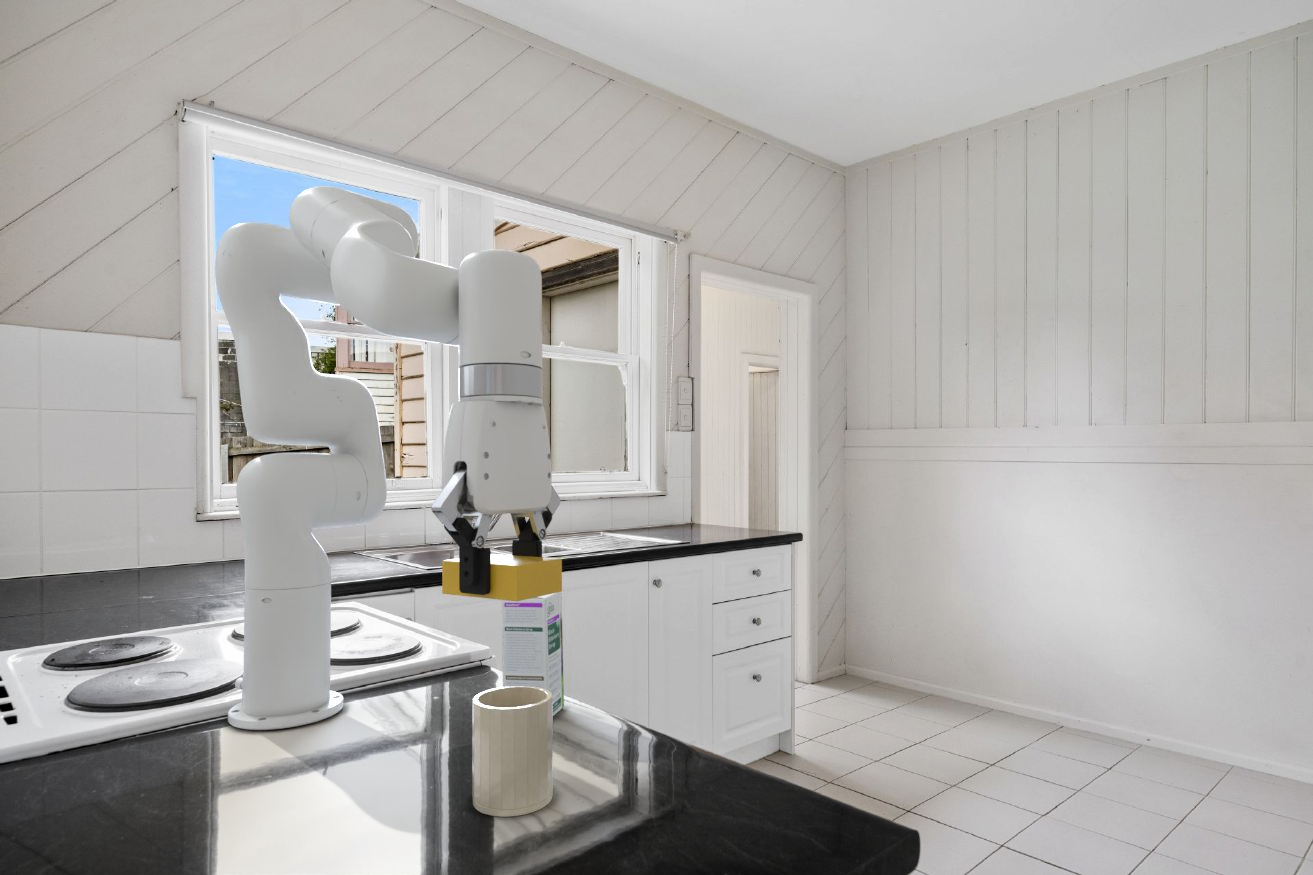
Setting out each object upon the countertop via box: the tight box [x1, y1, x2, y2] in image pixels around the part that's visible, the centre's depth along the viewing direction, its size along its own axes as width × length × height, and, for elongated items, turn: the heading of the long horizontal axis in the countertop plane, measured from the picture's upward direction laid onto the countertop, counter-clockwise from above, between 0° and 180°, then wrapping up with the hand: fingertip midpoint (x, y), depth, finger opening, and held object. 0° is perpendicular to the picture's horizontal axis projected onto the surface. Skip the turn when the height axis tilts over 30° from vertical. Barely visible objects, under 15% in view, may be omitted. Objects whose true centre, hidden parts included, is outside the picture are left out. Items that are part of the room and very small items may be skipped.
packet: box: [441, 553, 563, 601], centre depth 69 cm, size 9×6×3 cm, turn 58°
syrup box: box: [500, 591, 565, 717], centre depth 91 cm, size 6×6×14 cm
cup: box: [471, 686, 554, 818], centre depth 68 cm, size 7×7×9 cm
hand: (502, 586), depth 68 cm, fingers closed on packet, 6 cm apart
